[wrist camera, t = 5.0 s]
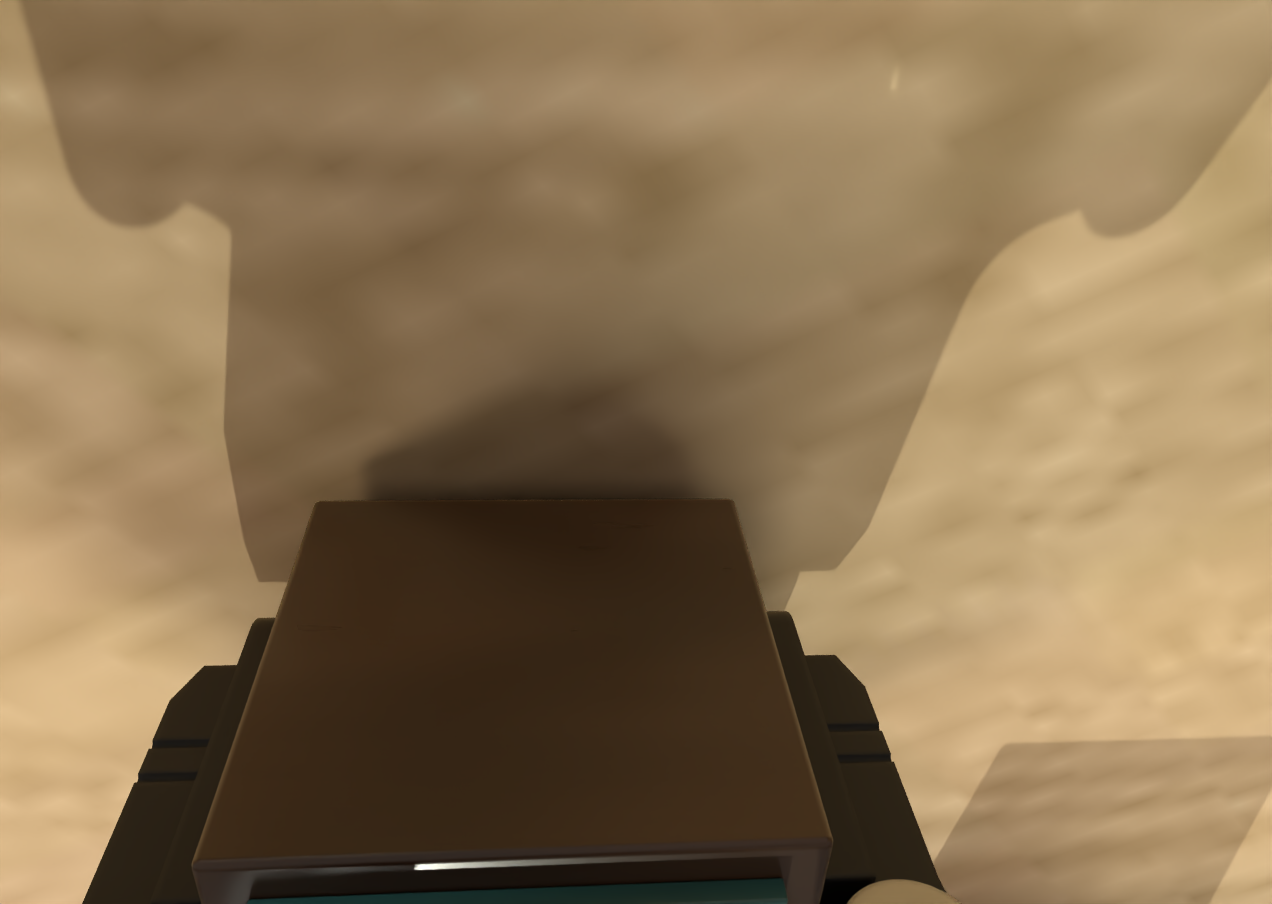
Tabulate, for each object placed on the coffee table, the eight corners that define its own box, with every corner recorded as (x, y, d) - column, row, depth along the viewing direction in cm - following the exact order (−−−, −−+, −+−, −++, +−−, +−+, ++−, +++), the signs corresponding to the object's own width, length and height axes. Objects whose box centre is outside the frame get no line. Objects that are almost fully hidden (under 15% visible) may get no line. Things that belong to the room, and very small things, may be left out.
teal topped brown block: (734, 495, 11) (844, 866, 7) (700, 779, 13) (769, 1180, 9) (313, 497, 11) (177, 894, 7) (353, 790, 13) (270, 1215, 9)
